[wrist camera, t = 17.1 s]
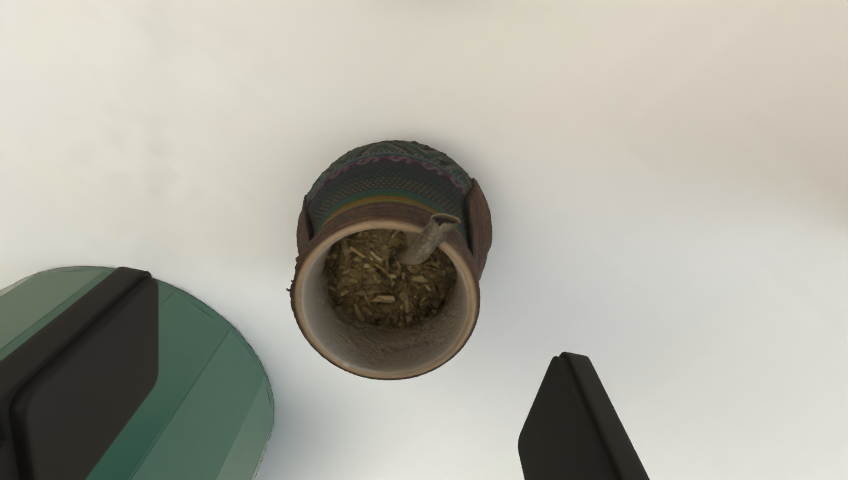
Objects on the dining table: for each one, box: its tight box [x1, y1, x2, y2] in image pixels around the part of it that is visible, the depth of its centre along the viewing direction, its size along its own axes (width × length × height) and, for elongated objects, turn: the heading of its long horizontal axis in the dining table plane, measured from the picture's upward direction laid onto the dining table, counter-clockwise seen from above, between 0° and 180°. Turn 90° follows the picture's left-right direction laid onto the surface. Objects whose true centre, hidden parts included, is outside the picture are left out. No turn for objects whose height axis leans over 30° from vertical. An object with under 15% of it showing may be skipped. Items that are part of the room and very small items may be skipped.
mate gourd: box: [286, 140, 492, 380], centre depth 16 cm, size 7×8×10 cm
